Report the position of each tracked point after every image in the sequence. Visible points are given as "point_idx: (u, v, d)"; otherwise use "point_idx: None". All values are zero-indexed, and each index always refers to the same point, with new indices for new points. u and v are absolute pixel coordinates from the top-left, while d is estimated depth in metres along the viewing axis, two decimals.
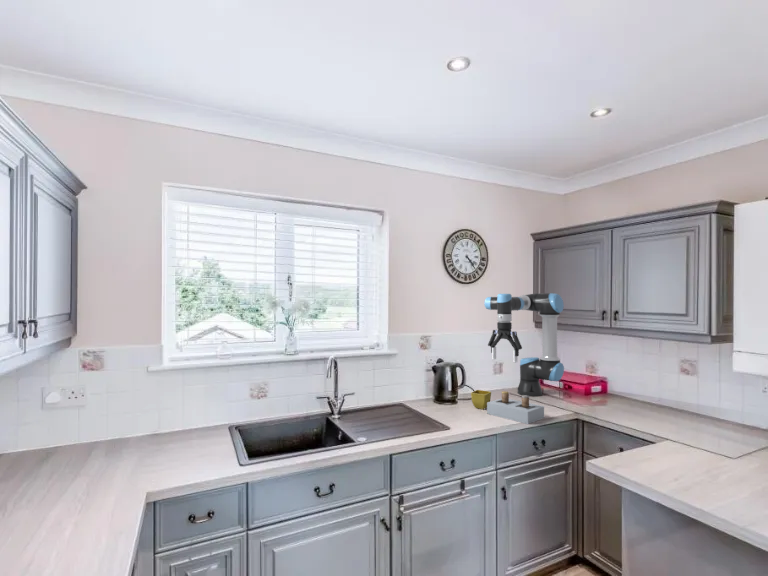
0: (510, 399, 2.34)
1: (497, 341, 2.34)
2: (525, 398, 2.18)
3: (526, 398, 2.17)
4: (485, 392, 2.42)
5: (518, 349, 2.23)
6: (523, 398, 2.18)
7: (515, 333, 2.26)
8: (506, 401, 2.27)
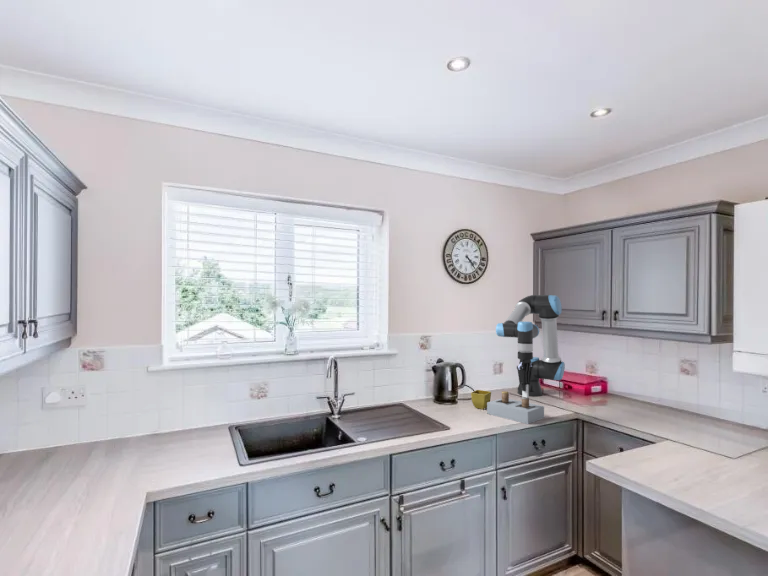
0: (510, 399, 2.34)
1: None
2: (525, 399, 2.18)
3: (526, 399, 2.17)
4: (485, 392, 2.42)
5: (521, 383, 2.18)
6: (523, 399, 2.18)
7: (519, 368, 2.15)
8: (506, 401, 2.27)
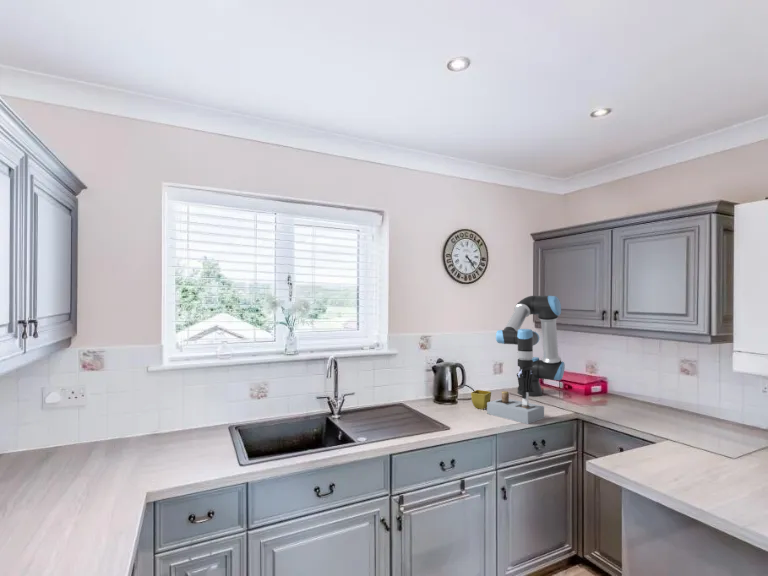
0: (510, 399, 2.34)
1: None
2: (525, 407, 2.17)
3: (526, 407, 2.17)
4: (485, 392, 2.42)
5: (521, 391, 2.18)
6: (523, 407, 2.18)
7: (519, 376, 2.15)
8: (506, 401, 2.27)
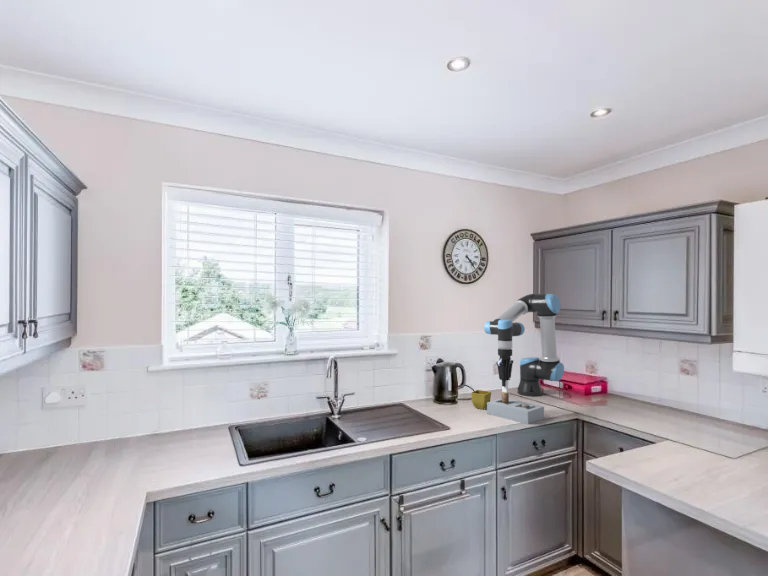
0: (510, 399, 2.34)
1: None
2: (525, 407, 2.17)
3: (526, 407, 2.17)
4: (485, 392, 2.42)
5: (501, 379, 2.27)
6: (523, 407, 2.18)
7: (498, 364, 2.25)
8: (506, 402, 2.27)
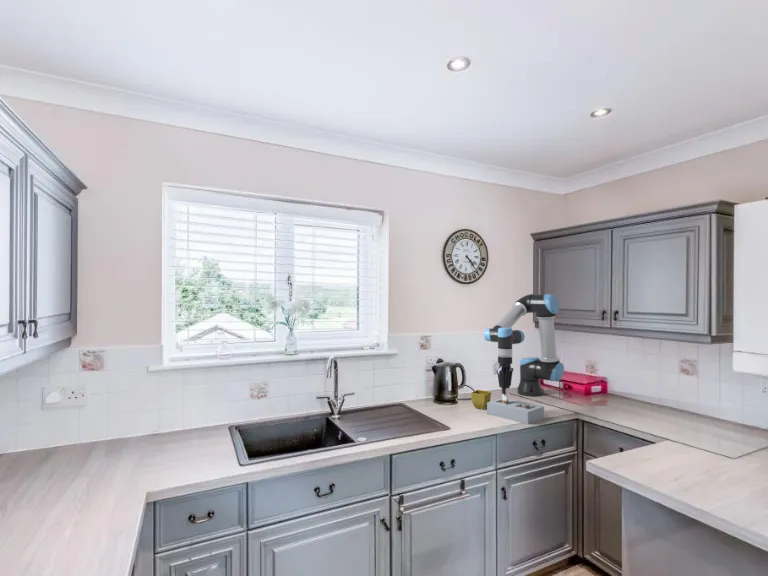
0: (510, 399, 2.34)
1: None
2: (525, 407, 2.17)
3: (526, 407, 2.17)
4: (485, 392, 2.42)
5: (501, 387, 2.27)
6: (523, 407, 2.18)
7: (498, 373, 2.24)
8: None
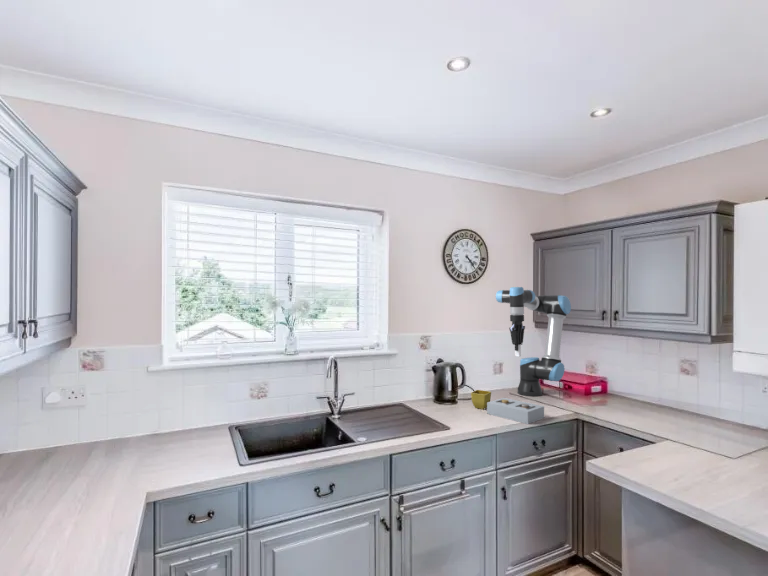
0: (510, 399, 2.34)
1: None
2: (525, 407, 2.17)
3: (526, 407, 2.17)
4: (485, 392, 2.42)
5: (513, 344, 2.37)
6: (523, 407, 2.18)
7: (511, 330, 2.34)
8: None
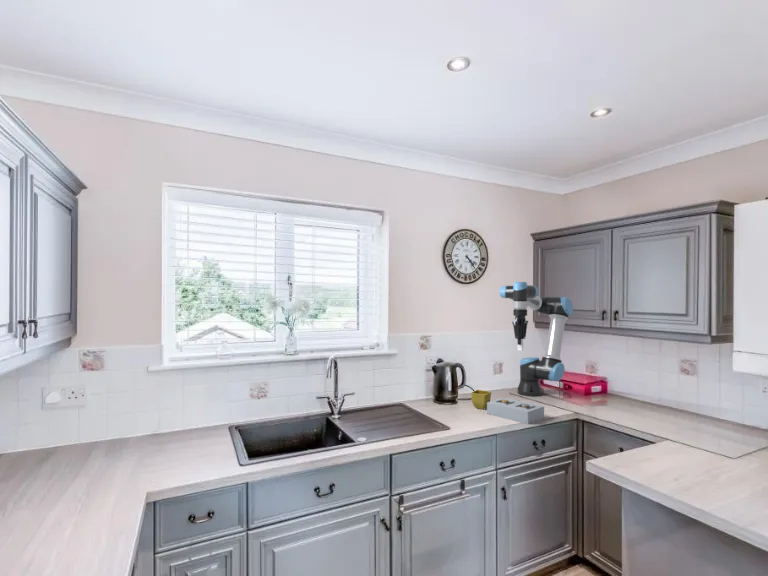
0: (510, 399, 2.34)
1: None
2: (525, 407, 2.17)
3: (526, 407, 2.17)
4: (485, 392, 2.42)
5: (516, 338, 2.39)
6: (523, 407, 2.18)
7: (514, 323, 2.37)
8: None
